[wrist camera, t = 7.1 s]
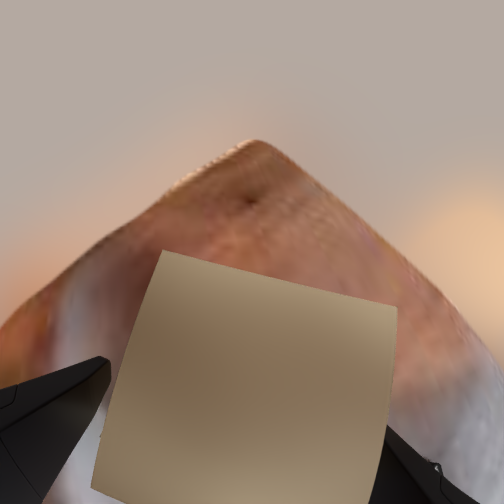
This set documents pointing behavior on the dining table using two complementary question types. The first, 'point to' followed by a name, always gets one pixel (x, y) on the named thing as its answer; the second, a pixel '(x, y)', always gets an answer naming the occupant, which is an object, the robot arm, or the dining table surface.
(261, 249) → the dining table surface
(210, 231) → the dining table surface
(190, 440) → the beige tall block
